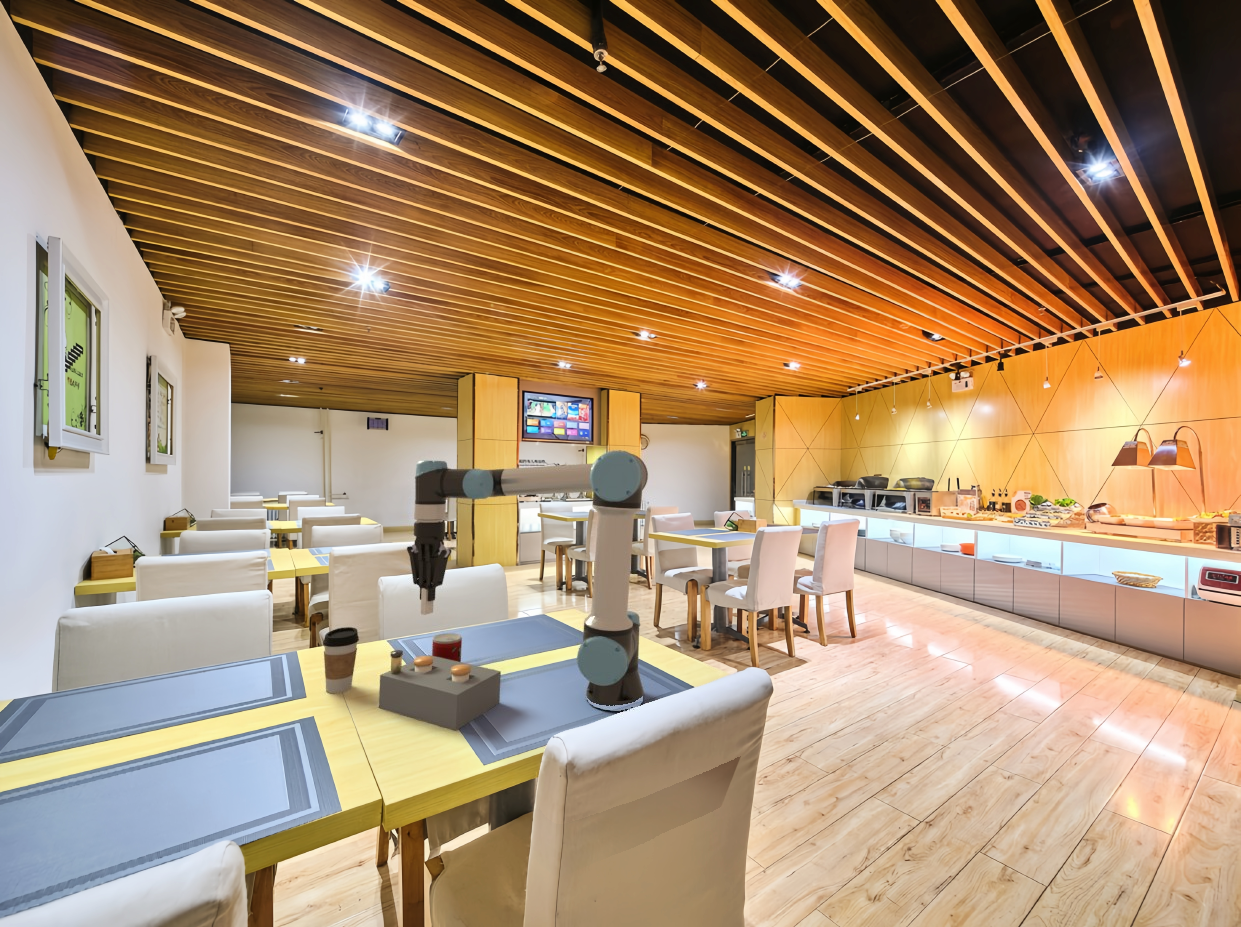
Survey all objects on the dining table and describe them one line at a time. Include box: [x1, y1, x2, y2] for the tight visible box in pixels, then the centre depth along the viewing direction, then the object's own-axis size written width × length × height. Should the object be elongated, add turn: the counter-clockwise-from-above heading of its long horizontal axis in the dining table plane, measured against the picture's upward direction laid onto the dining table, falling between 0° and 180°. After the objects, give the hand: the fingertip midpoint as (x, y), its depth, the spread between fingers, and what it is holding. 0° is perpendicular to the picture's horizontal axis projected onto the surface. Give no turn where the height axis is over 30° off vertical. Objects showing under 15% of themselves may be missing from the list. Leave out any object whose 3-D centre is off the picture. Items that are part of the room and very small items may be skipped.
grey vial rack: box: [378, 654, 502, 732], centre depth 128 cm, size 24×16×8 cm, turn 66°
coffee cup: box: [322, 626, 360, 694], centre depth 136 cm, size 8×8×15 cm
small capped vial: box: [390, 649, 404, 674], centre depth 128 cm, size 3×3×5 cm
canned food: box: [431, 632, 463, 662], centre depth 147 cm, size 8×8×11 cm
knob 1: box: [413, 655, 433, 674], centre depth 131 cm, size 5×5×8 cm
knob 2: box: [451, 664, 471, 683], centre depth 126 cm, size 5×5×8 cm
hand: (426, 613), depth 131 cm, fingers closed
